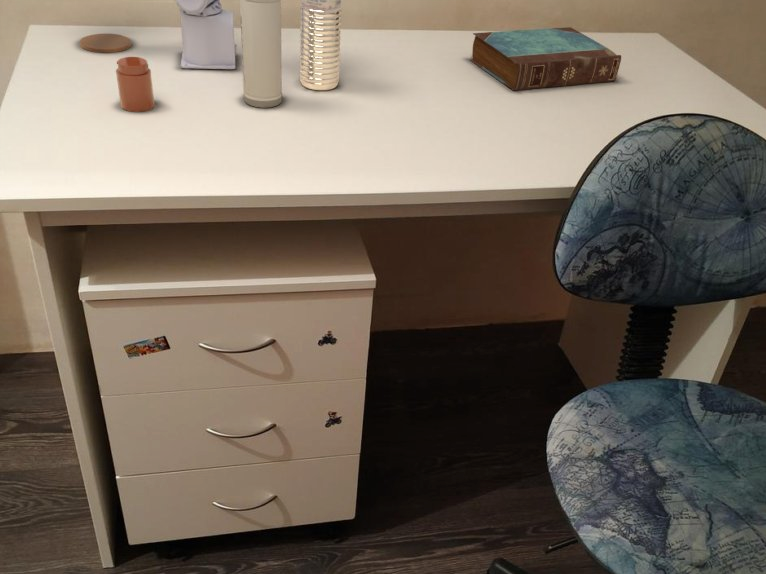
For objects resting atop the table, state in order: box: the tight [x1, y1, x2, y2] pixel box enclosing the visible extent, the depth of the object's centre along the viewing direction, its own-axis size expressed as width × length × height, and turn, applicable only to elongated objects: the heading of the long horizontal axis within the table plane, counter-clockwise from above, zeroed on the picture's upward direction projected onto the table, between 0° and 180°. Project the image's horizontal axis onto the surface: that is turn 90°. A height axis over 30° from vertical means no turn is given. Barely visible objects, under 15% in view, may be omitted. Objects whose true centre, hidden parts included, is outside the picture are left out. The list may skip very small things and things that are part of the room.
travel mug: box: [239, 0, 283, 109], centre depth 127 cm, size 6×7×20 cm
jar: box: [115, 56, 156, 113], centre depth 126 cm, size 5×5×7 cm
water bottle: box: [299, 0, 342, 91], centre depth 133 cm, size 7×7×25 cm
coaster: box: [79, 33, 132, 54], centre depth 148 cm, size 9×9×1 cm
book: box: [469, 26, 622, 91], centre depth 154 cm, size 23×18×5 cm
